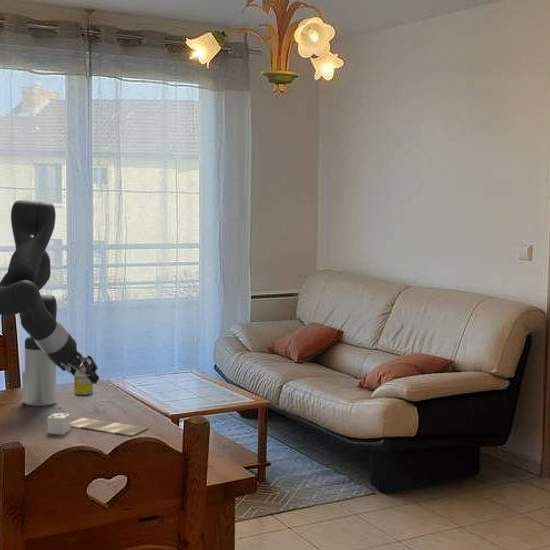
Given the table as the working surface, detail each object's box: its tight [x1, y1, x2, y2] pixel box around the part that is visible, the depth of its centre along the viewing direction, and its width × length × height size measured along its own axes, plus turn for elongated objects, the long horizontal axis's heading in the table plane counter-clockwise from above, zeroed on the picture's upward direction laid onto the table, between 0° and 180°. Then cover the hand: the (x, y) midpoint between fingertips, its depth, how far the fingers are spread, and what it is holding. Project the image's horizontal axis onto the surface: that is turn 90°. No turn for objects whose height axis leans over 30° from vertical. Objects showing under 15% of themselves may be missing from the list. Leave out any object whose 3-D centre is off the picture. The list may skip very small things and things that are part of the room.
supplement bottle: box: [74, 362, 94, 399], centre depth 211 cm, size 5×5×8 cm
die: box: [47, 412, 71, 435], centre depth 219 cm, size 4×4×5 cm
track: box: [70, 417, 149, 438], centre depth 224 cm, size 22×8×1 cm, turn 66°
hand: (88, 379), depth 213 cm, fingers closed on supplement bottle, 4 cm apart
